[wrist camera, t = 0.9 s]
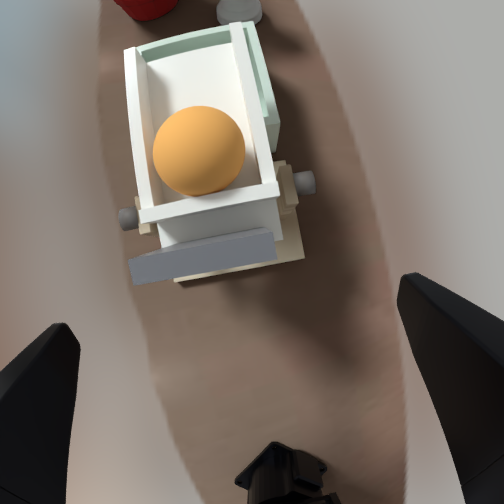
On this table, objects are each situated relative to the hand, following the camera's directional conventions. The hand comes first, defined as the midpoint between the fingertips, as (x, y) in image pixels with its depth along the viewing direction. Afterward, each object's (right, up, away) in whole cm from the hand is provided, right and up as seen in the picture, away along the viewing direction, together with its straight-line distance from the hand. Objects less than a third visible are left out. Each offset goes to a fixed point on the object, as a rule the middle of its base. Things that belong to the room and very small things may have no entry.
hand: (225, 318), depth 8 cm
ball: (-2, +6, +6) cm, 8 cm away
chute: (-2, +7, +8) cm, 11 cm away
